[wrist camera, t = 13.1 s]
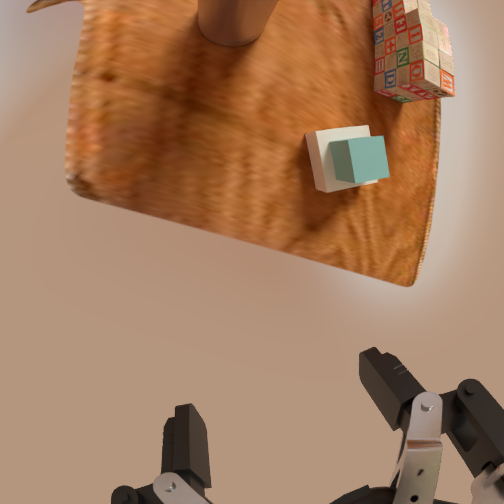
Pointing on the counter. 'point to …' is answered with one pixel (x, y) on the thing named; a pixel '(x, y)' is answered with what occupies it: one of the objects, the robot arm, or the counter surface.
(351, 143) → the teal cube
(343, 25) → the counter surface
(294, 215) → the counter surface
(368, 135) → the white square block
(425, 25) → the stack of blocks
